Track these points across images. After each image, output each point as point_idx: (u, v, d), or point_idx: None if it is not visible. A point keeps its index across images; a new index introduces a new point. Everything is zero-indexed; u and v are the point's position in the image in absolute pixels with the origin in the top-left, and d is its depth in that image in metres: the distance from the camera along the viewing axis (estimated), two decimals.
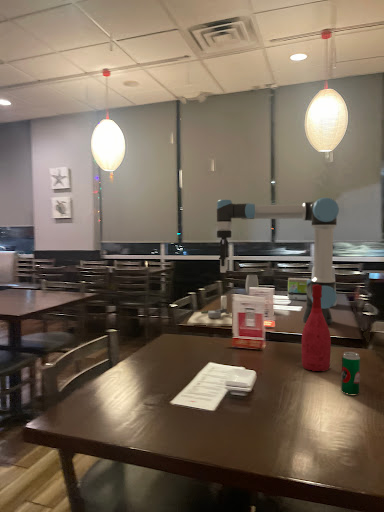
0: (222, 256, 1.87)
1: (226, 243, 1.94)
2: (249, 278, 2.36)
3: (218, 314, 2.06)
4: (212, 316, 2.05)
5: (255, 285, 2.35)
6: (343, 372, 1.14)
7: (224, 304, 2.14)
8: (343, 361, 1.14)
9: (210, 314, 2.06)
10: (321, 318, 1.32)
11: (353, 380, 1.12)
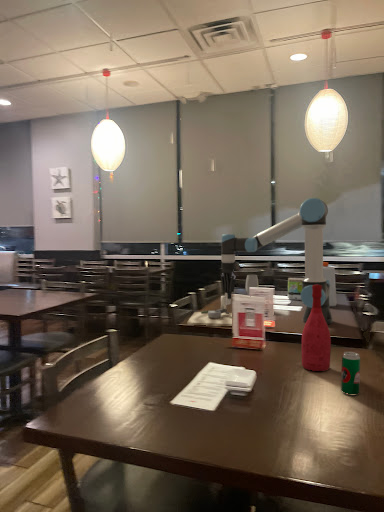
0: None
1: (224, 275, 2.12)
2: (249, 278, 2.36)
3: (218, 314, 2.06)
4: (212, 316, 2.05)
5: (255, 285, 2.35)
6: (343, 372, 1.14)
7: (224, 304, 2.14)
8: (343, 361, 1.14)
9: (210, 314, 2.06)
10: (321, 318, 1.32)
11: (353, 380, 1.12)
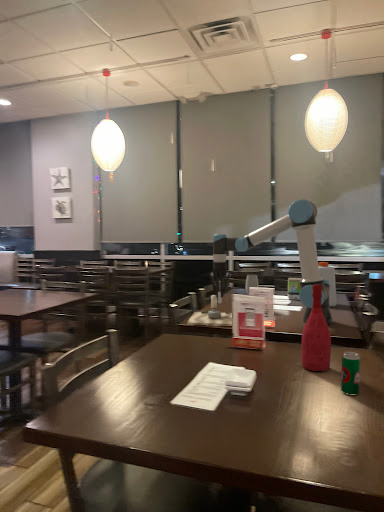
0: None
1: (215, 274, 2.15)
2: (249, 278, 2.36)
3: (220, 313, 2.07)
4: (216, 316, 2.05)
5: (255, 285, 2.35)
6: (343, 372, 1.14)
7: (215, 303, 2.16)
8: (343, 361, 1.14)
9: (214, 314, 2.05)
10: (321, 318, 1.32)
11: (353, 380, 1.12)
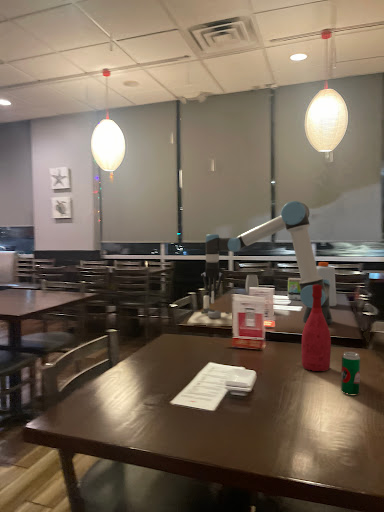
0: (206, 288, 2.16)
1: (209, 275, 2.14)
2: (249, 278, 2.36)
3: None
4: (219, 316, 2.06)
5: (255, 285, 2.35)
6: (343, 372, 1.14)
7: (208, 303, 2.16)
8: (343, 361, 1.14)
9: (217, 314, 2.05)
10: (321, 318, 1.32)
11: (353, 380, 1.12)
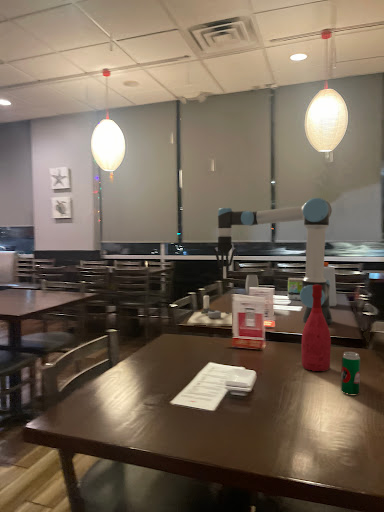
0: None
1: (221, 249, 2.11)
2: (249, 278, 2.36)
3: None
4: (219, 316, 2.06)
5: (255, 285, 2.35)
6: (343, 372, 1.14)
7: (208, 303, 2.16)
8: (343, 361, 1.14)
9: (217, 314, 2.05)
10: (321, 318, 1.32)
11: (353, 380, 1.12)
